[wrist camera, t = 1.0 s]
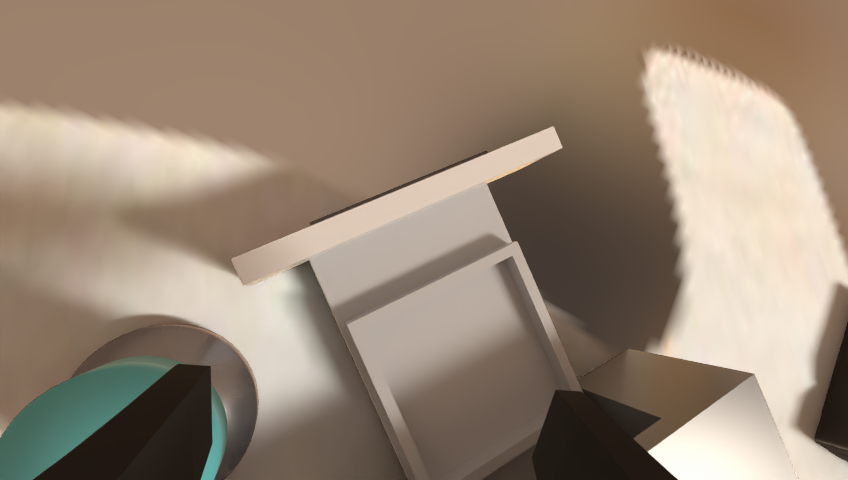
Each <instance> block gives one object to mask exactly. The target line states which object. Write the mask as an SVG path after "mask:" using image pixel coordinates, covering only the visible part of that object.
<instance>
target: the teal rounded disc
mask: <svg viewBox="0 0 848 480" xmlns="http://www.w3.org/2000/svg"><path fill="white" fill-rule="evenodd" d="M177 364H184V363H182V362H179V361H176V360H173V359H169V358H165V357H158V356H135V357H128V358H123V359H119V360H115V361H112V362H110V363H107V364H104V365H102V366H99V367H97V368H95V369H92V370H90V371H88V372H86V373H83V374H81V375H79V376H76V377H74V378H72V379H69V380H67V381H65V382H63V383H61V384H59V385H57V386H55V387H53V388H51V389H49V390H48V391H46V392H45V393H43V394H42V395H40V396H39V397H37V398H36V399H35V400H33V401H32V402H31V403H30V404H29V405H27V406H26V407H25V408H24V409H23V410H22V411H21V412H20V413H19V414H18V415H17V416H16V417H15V418H14V419H13V421H12V422H11V423H10V425H9V426H8V427H7V429H6V430H5V431H4V433H3V435H2V436H1V438H0V480H33V479H34V478H35V477H37V476H38V475H39V474H41V473H42V472H43V471H45V470H46V469H47V468H49V467H50V466H52V465H53V464H54V463H56V462H57V461H58V460H60V459H61V458H62V457H64V456H65V455H66V454H67V453H69V452H70V451H71V450H73V449H74V448H75V447H76V446H78V445H79V444H80V443H81V442H83V441H84V440H85V439H86V438H88V437H89V436H90V435H91V434H93V433H94V432H95V431H96V430H98V429H99V428H100V427H101V426H103V425H104V424H105V423H106V422H108V421H109V420H110V419H111V418H113V417H114V416H115V415H116V414H118V413H119V412H120V411H121V410H122V409H124V408H125V407H126V406H127V405H128V404H130V403H131V402H132V401H133V400H134V399H136V398H137V397H138V396H139V395H140V394H142V393H143V392H144V391H145V390H146V389H148V388H149V387H150V386H151V385H152V384H153V383H155V382H156V381H157V380H158V379H159V378H161V377H162V376H163V375H164V374H165V373H167V372H168V371H169V370H170V369H171V368H173V367H174V366H176V365H177ZM211 397H212V440H213V443H212V447H211V450H210V453H209V456H208V459H207V462H206V465H205V468H204V471H203V474H202V477H201V480H214V479H215V476H216V474H217V471H218V469H219V466H220V464H221V462H222V459H223V456H224V453H225V448H226V443H227V434H228V426H227V417H226V412H225V408H224V405H223V403H222V400H221V398H220V396H219V394H218V393H217V391H216V389H215V388H214V387H213V385H212V384H211Z"/></svg>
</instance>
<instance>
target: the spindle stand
mask: <svg viewBox="0 0 848 480" xmlns="http://www.w3.org/2000/svg"><path fill="white" fill-rule="evenodd" d="M135 356H158V357H165V358H169V359H173V360H176V361H179V362H182V363H184V364H189V365H204V366H211V384H212V385H213V387H214V388H215V389H216V391H217V393H218V394H219V396H220V398H221V400H222V403H223V405H224V408H225V412H226V417H227V426H228V434H227V443H226V448H225V453H224V456H223V459H222V462H221V464H220V466H219V469H218V471H217V474H216V476H215V479H214V480H224V479H225V478H226V477H227V476H228V475H229V474H230V473H231V472H232V470H233V469H234V468H235V467H236V465H237V464H238V463H239V461H240V460H241V458H242V457H243V455H244V453H245V452H246V450H247V447H248V445H249V443H250V441H251V438H252V435H253V432H254V429H255V425H256V420H257V415H258V404H259V399H258V389H257V385H256V380H255V377H254V375H253V372H252V370H251V368H250V366H249V364H248V362H247V361H246V359H245V358H244V357H243V355H242V354H241V353H240V351H239V350H238V349H237V348H235V347H234V346H233V345H232V344H231V343H230V342H228V341H227V340H226V339H224V338H223V337H221V336H219V335H218V334H216V333H214V332H211V331H209V330H206V329H204V328H200V327H196V326H192V325H184V324H163V325H155V326H151V327H147V328H142V329H139V330H136V331H133V332H130V333H128V334H125V335H122V336H120V337H118V338H116V339H114V340H112V341H110V342H109V343H107V344H106V345H104V346H103V347H101V348H99V349H98V350H97V351H96V352H94V353H93V354H92V355H91V356H90V357H88V358H87V359H86V360H85V361H84V363H83V364H82V365H81V366H80V367H79V368H78V369H77V370H76V372H75V373H74V374H73V376H72V377H71V378H70V379H72V378H74V377H76V376H79V375H81V374H83V373H86V372H88V371H90V370H92V369H95V368H97V367H99V366H102V365H104V364H107V363H110V362H112V361H115V360H119V359H123V358H128V357H135Z"/></svg>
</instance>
